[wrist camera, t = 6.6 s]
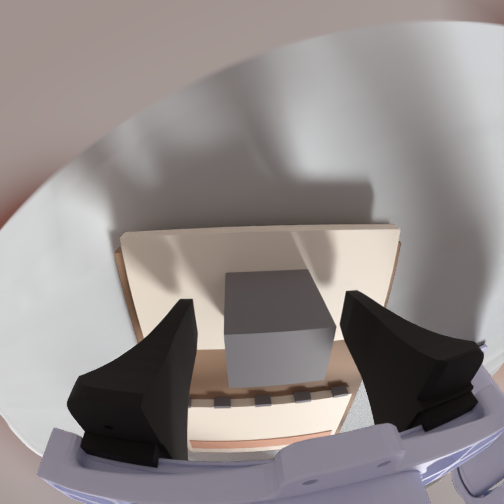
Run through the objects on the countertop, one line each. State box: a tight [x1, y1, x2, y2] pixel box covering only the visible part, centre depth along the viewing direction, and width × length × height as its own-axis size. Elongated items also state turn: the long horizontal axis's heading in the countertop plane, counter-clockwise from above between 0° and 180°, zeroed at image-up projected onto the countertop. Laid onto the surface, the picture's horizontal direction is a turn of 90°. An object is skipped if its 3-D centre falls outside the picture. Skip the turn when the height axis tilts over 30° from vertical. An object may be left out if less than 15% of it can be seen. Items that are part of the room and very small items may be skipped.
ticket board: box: [115, 242, 401, 449], centre depth 19 cm, size 22×16×1 cm
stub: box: [120, 224, 401, 388], centre depth 12 cm, size 7×14×5 cm, turn 90°
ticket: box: [187, 385, 352, 453], centre depth 21 cm, size 9×14×1 cm, turn 91°
